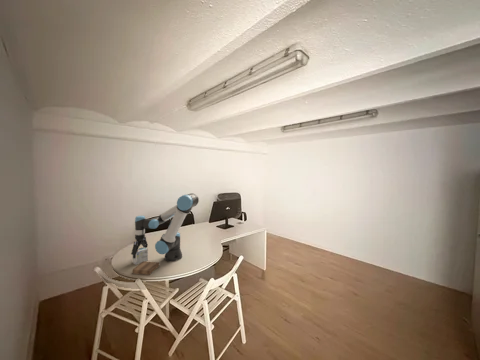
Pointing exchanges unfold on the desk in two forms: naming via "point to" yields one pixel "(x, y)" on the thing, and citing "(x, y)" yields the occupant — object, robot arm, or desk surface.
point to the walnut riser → (145, 268)
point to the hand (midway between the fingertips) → (139, 258)
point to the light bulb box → (141, 255)
